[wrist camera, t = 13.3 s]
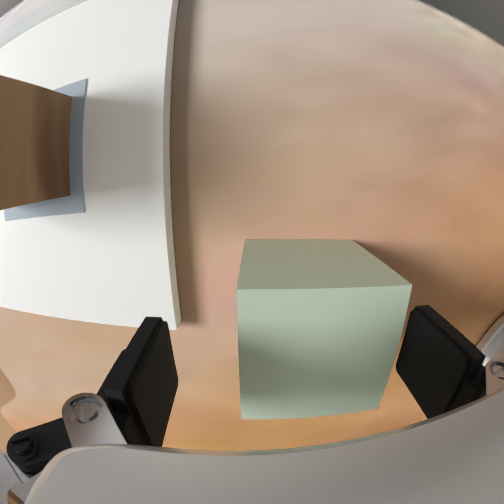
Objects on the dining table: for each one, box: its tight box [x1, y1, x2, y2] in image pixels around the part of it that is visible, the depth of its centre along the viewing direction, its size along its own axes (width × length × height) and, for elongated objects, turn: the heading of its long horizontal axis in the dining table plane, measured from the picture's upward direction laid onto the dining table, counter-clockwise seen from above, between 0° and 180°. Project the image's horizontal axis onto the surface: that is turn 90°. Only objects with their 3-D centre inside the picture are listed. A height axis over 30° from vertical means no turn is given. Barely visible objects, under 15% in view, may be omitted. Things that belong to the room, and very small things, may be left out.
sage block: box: [237, 239, 412, 419], centre depth 13 cm, size 6×6×7 cm
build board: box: [0, 0, 181, 330], centre depth 13 cm, size 18×22×1 cm
